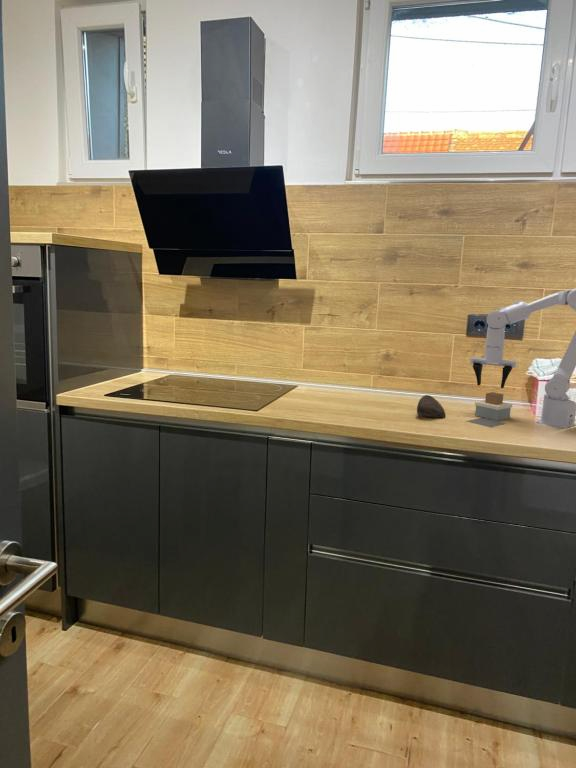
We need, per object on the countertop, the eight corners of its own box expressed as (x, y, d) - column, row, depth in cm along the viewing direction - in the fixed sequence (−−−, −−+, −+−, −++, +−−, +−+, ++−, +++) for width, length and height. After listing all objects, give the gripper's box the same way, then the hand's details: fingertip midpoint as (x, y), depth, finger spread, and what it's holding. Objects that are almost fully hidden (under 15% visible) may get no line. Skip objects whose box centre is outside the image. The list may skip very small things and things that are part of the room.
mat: (506, 424, 182) (506, 423, 182) (491, 428, 176) (491, 427, 176) (481, 418, 188) (481, 417, 188) (465, 422, 183) (465, 421, 183)
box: (509, 418, 190) (510, 407, 190) (496, 421, 185) (497, 409, 185) (487, 413, 196) (489, 402, 196) (474, 416, 191) (476, 405, 191)
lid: (512, 407, 190) (513, 394, 189) (498, 410, 184) (499, 397, 183) (488, 402, 196) (490, 390, 195) (474, 404, 191) (476, 392, 190)
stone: (434, 424, 194) (414, 402, 195) (452, 410, 189) (432, 388, 190) (425, 435, 186) (404, 411, 187) (444, 420, 181) (423, 396, 182)
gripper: (519, 347, 191) (514, 387, 194) (474, 343, 198) (471, 382, 201) (516, 349, 185) (511, 390, 187) (470, 345, 192) (466, 385, 194)
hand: (490, 386), depth 194 cm, fingers open, 7 cm apart
